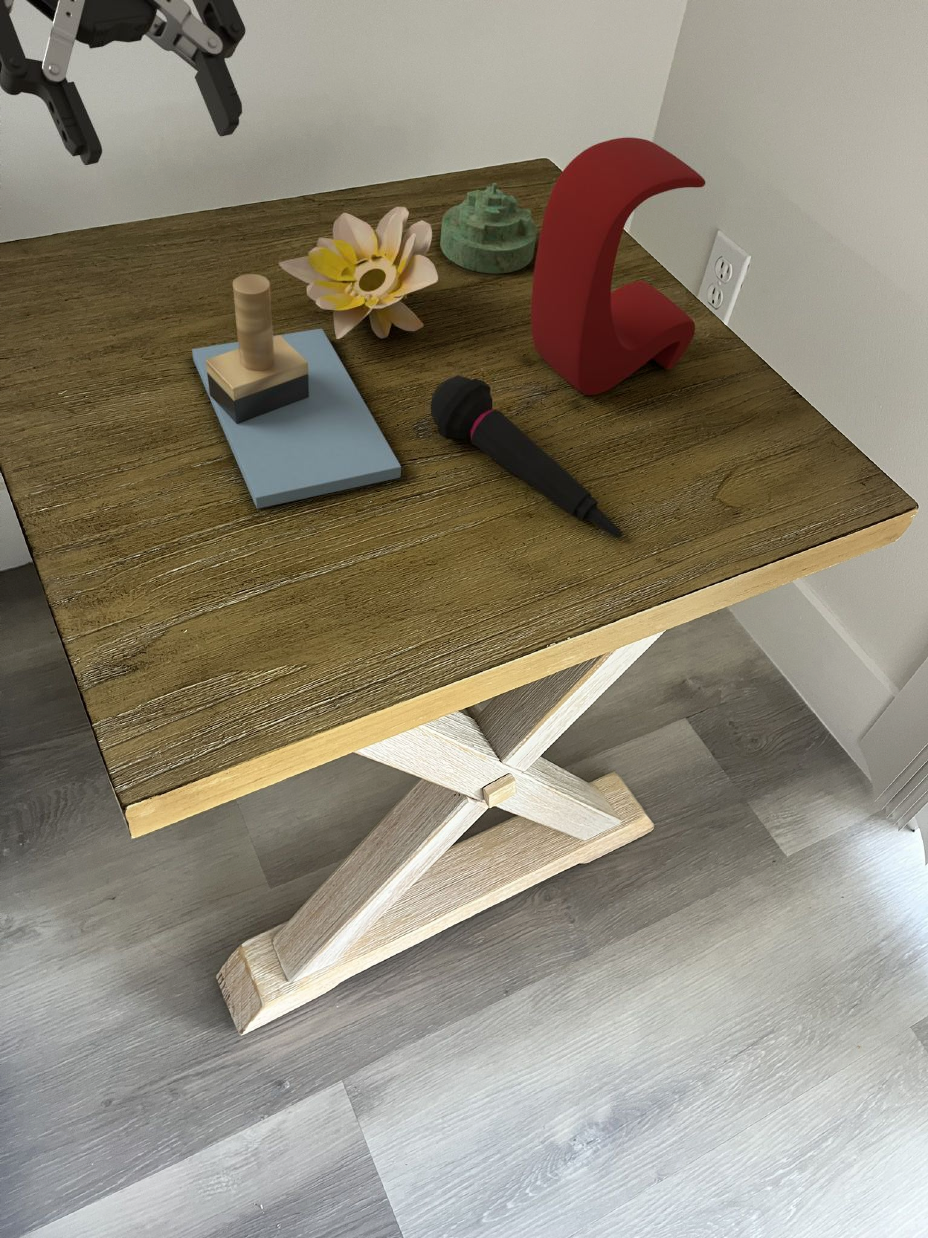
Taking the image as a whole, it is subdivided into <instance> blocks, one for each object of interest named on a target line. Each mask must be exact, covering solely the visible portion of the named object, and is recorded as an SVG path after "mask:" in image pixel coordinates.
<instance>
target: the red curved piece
mask: <svg viewBox="0 0 928 1238" xmlns="http://www.w3.org/2000/svg"><path fill="white" fill-rule="evenodd" d="M705 185H706V180H705V178H704V177H703V176H702V175H701V174H700V173H699V172H697V171H696V170H695V169H693V168H692V167H691V166H689V164H687V163H686V162H684V161H683V160H681V159H680V158H678V157H677V156H675V154H673V153H671V152H670V151H668V150H667V149H665V148H663V147H662V146H660V145H659V144H656V143H655V142H653V141H651V140H648V139H645V138H639V137H629V136H627V137H618V138H612V139H609V140H604V141H601V142H598V143H596V144H593V145H591V146H589V147H588V148H586V149H584V150H583V151H582V152H580V153H579V154H578V155H576V156H575V157H574V158H573V159H572V160H571V161H570V162H569V163H568V164H567V166H565V168H564V169H563V170H562V172H561V173H560V175H559V177H558V178H557V179H556V181H555V183H554V185H553V188H552V190H551V192H550V196H549V198H548V201H547V204H546V208H545V211H544V215H543V219H542V223H541V227H540V233H539V239H538V245H537V252H536V256H535V263H534V270H533V278H532V288H531V300H530V328H531V329H530V331H531V336H532V342H533V346H534V349H535V350H536V353H538V355H539V356H540V357H541V358H542V359H543V360H544V361H545V363H546V364H548V365H549V367H551V369H553V370H554V371H555V372H556V373H557V374H558V375H559V376H560V377H561V378H562V379H564V381H566V382H567V383H568V384H569V385H570V386H571V387H572V388H573V389H575V390H577V391H578V392H579V393H581V394H583V395H586V396H595V395H599V394H602V393H604V392H607V391H609V390H611V389H613V388H614V387H616V386H617V385H618V384H620V383H622V382H623V381H624V380H626V379H627V378H629V377H630V376H631V375H632V374H634V373H635V372H636V371H638V370H639V369H640V368H641V367H643V366H644V365H645V364H647V363H648V362H649V361H650V360H653V361H654V362H655V363H656V364H658V365H659V366H660V367H662V368H664V369H665V370H667V371H668V370H669V371H670V370H672V369H673V368H674V367H675V366H676V364H677V363H678V362H679V360H680V359H681V357H682V356H683V355H684V354H685V352H686V351H687V349H688V347H689V346H690V344H691V342H692V340H693V338H694V335H695V332H696V324H695V321H694V320H693V318H691V317H690V315H688V313H686V311H684V310H683V309H682V308H681V307H679V305H677V304H676V303H675V302H674V301H673V300H672V299H670V298H669V297H667V295H665V294H664V293H663V292H661V291H660V290H658V289H657V288H656V287H655V286H653V285H651V284H650V283H648V282H646V281H645V280H637V281H633V282H629V283H627V284H624V285H621V286H620V287H618V288H616V289H614V290H613V291H612V282H613V275H614V270H615V269H614V268H615V262H616V259H617V255H618V250H619V246H620V242H621V239H622V235H623V232H624V228H625V226H626V223H627V222H628V219H629V218H630V216H631V215H632V213H633V212H634V211H635V210H636V209H637V208H638V207H639V206H640V205H641V204H643V203H644V202H645V201H647V200H649V199H650V198H652V197H654V196H656V195H660V194H662V193H665V192H669V191H672V190H677V189H684V188H685V189H686V188H704V187H705Z"/></svg>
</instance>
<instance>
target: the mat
mask: <svg viewBox="0 0 928 1238" xmlns="http://www.w3.org/2000/svg"><path fill="white" fill-rule="evenodd" d="M279 335H280V336H281V337H282V338H283V339H284V340H285V341H286V342H288V343H289V344H290V345H291V346H292V347H293V348H294V349H295V350H296V351H297V352H298V353H299V354H300V355H301V356H302V357H303V358H304V359H305V360H306V361H307V362H308V378H309V397H308V398H305V399H302V400H300V401H297V402H294V403H292V404H289V405H286V406H284V407H281V408H279V409H276V410H273V411H271V412H268V413H265V414H263V415H260V416H257V417H255V418H252V419H249V420H247V421H244V422H241V423H239V424H236V423H235V422H234V421H233V420H232V418H231V417H230V416H229V415H228V414H227V413H226V412H225V411H224V410H223V409H222V408H221V407H220V406H219V405H218V403H217V402H216V401H215V400H214V399H213V398H212V397H211V396H210V392H209V384H208V376H207V368H206V359H209V358H212V357H215V356H218V355H221V354H224V353H227V352H230V351H233V350H236V349H239V348H238V341H234V342H229V343H221V344H215V345H209V346H203V347H197V348H192V349H191V352H192V360H193V362H194V365H195V367H196V370H197V372H198V374H199V377H200V378H201V382H202V383H203V386H204V388H205V391H206V393H207V395H208V397H209V400H210V402H211V404H212V408H213V409H214V412H215V414H216V417H217V419H218V421H219V424H220V426H221V428H222V431H223V432H224V436H225V437H226V440H227V443H228V444H229V447H230V449H231V451H232V454H233V456H234V459H235V460H236V463H237V466H238V468H239V470H240V472H241V476H242V478H243V479H244V482H245V484H246V487H247V489H248V491H249V494H250V496H251V498H252V500H253V503H254V505H255V507H256V509H258V510H259V509H262V508H268V507H271V506H277V505H281V504H285V503H290V502H295V501H299V500H303V499H309V498H315V497H318V496H322V495H327V494H332V493H335V492H341V491H346V490H350V489H355V488H359V487H364V486H368V485H372V484H378V483H381V482H387V481H391V480H396V479H400V478H401V475H402V466H401V464H400V462H399V460H398V458H397V457H396V455H395V453H394V451H393V450H392V447H391V446H390V444H389V443H388V441H387V440H386V439H387V438H385V436H384V434H383V433H382V431H381V429H380V427H379V425H378V423H377V422H376V420H375V418H374V416H373V415H372V413H371V411H370V409H369V408H368V406H367V404H366V403H365V400H364V399H363V398H362V396H361V394H360V391H359V390H358V388H357V387H356V385H355V383H354V381H353V380H352V378H351V376H350V375H349V373H348V370H347V369H346V368H345V366H344V364H343V363H342V361H341V359H340V357H339V355H338V353H337V351H336V349H335V348H334V347H333V345H332V343H331V342H330V340H329V337H328V336H327V334H326V332H325V331H324V329H323V328H315V329H309V330H302V331H297V332H291V333H285V334H279ZM275 336H276V335H273V337H275Z"/></svg>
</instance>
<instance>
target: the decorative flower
mask: <svg viewBox="0 0 928 1238" xmlns="http://www.w3.org/2000/svg"><path fill="white" fill-rule="evenodd" d="M409 214H410V212H409V210H408V209H407V208H406V207H405V206H395V207H393V208H392V209H390V211H388V212H387V213H386V214H385V215H384V216H382V218H381V219H380V220H379V222H378V224H377V226H376V229H375V230H374V229H373V228H372V227H371V225H370V224H369V223H368V222H366V221H364V220H362V219H360V218H358V217H356V216H354V215H352V214H351V213H347V212H343V213H342V214H340V215H339V216H338V217H337V218H336V219H335V220H334V221H333V227H332V237H333V238H328V237H319V238H318V239H317V242H316V246H315V247H313V248H312V249H311V250H309V251H308V252H307V253H308V254H307V255H305V256H301V257H296V258H291V259H285V260H283V261H279V262H278V265H279V267H280V268H281V269H282V270H284V271H285V272H287V273H288V274H289V275H291V276H293V277H295V278H296V279H299V280H300V281H302V282H304V283H306V284H308V285H307V286H306V296H307V297H309V298H310V299H311V300H312V301H314V302H315V305H316V306H318V307H319V308H320V309H321V310H329V311H333V312H332V318H333V326H334V327H333V328H334V333H335V335H334V336H335V338H336V340H339V339H341V338H343V337H344V336H345V335H347V334H348V333H350V332H351V331H352V330H353V329H355V328H356V327H357V326H358V325H359V324H360V323H361V322H362V321H363V320H364V319H365V318H366V317H367V316H368V317H369V318H368V319H369V321H370V326H371V330H372V331H373V333H374V334H375V335H376V336H377V337H378V338H380V339H385V338H387V337H388V336H389V334H390V330H391V326H392V324H393V325H394V326H395V327H397V328H399V329H401V330H403V331H406V332H415V331H418V330H420V329H421V328H423V327H424V326H425V324H424V323H423V322H422V320H420V319H419V317H418V316H417V315H416V313H414V312H413V311H412V310H411V309H410V308H409V307H408V305H406V304H405V303H404V302H402V301H401V300H402V299H404V300H407V299H408V297H407V295H408V294H410V293H413V292H417V291H419V290H422V289H424V288H427V287H429V286H432V285H434V284H436V283H437V282H438V281H439V275H438V272H437V269H436V266H435V264H434V263H433V262H432V261H431V260H430V259H429V258H428V257H426V254H427V253H428V251H429V249H430V246H431V242H432V238H433V231H432V226H431V224H430V223H428V222H426V221H425V220H423V219H421V220H419V221H417V222H415V223H413V224H411V225H410V227H409V228H408V229H407V230H406V232H405V233H404V229H405V227H406V224H407V221H408V218H409ZM403 233H404V235H403Z"/></svg>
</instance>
